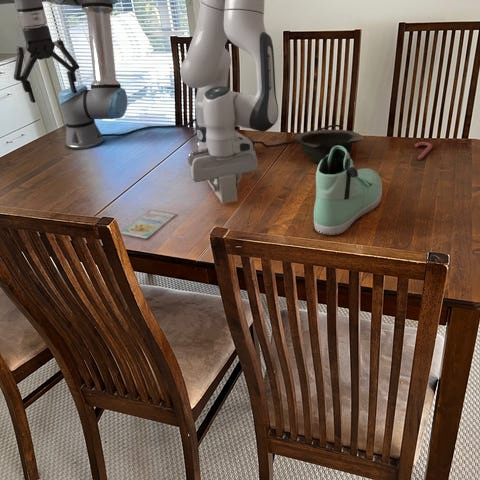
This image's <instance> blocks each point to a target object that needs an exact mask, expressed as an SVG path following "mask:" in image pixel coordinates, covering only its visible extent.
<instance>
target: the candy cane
mask: <svg viewBox="0 0 480 480" xmlns="http://www.w3.org/2000/svg"><path fill="white" fill-rule="evenodd" d="M433 146H434V145H433V144H432V143H430V142H428V141H420V142H419V141H418V142H416V143H415V144H414V148H415V149H418V148H419V147H426V148H425V149H424V150H423V151H422V152H421V153H420V154H419V155H418V156H417V159H418V161H420V160H423V158H424V157H425V156H426V155H428V153H429V152H430V151H431V150H432V149H433Z"/></svg>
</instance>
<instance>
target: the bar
mask: <svg viewBox="0 0 480 480" xmlns="http://www.w3.org/2000/svg"><path fill="white" fill-rule="evenodd" d="M214 180H215V182H213V183H214V184H218V186H219V191H217V192H214V193H215V195H216V196H217V198H218V200H219V201H220V203H221V205H224V204H230V203H233V202H238V192H237V191H238V190H237V188H236V175H234V174H230V175H225V176H220V177H219V178H217V179H214ZM206 182H208V184H209V185H210V188H212V190H213V186H212V184H211V183H210V182H209V180H206Z"/></svg>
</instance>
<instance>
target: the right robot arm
mask: <svg viewBox="0 0 480 480" xmlns="http://www.w3.org/2000/svg"><path fill="white" fill-rule="evenodd" d="M264 16H265V0H200V4H199V10H198V15H197V19H196V26H195V30H194V32H193V36H192V39H191V41H190V44H189V47H188V50H187V53H186V56H185V58H184V60H183V61H182V63H181V64H180V69H179V73H180V78H181V80H182V82H183V83H184V84H185V85H186V86H187V87H188V88H191V89H197V91H196V95H195V98H194V110H195V119H197V121H196V123H195V128H196V129H195V131H196V137H197V141H198V142H197V145H198V147H197V148H198V149H197V150H196V149H195V150H192V151H191V152H190V153H189V154H188V155H187V160H188V161H187V162H188V165H189V166H190V167H189V170H190V178H191V179H192V181H193V182H194V183H201V182H207V180H209V182H210V183H211V184H212V186H213V189H212V190H213V192H214V193H215V192H217V191H219V186H218V184H214V183H213V182H215V180H214V179H217V178H219V177H220V176H225V175H230V174H234V175H235V176H236V189H237V188H239V187H240V186H239V185H240V184H239V183H240V180H241V179H242V174H248V173H252V172H256V171H257V169H258V167H259V164H258V163H259V162H258V157H257V153H256V150H255V148H256V147H255V146H256V145H255V144H261V145H262V146H263V147H265V148H275V147H279V146H283V145H288V144H293V143H294V144H295V143H297V142H296V141H294V140H290V141H285V142H280V143H277V144H265V142H264V141H261V140H260V141H259V140H256V141H255V140H254V139H252V138H251V137H246V136H245V135H244V134H242V133H240V132H238V131H237V130H236V127H238V128H243V129H244V128H245V129H250V130H254V131H257V132H262V133H264V132H267V131H269V130H270V129H271V128H273V127H274V125H275V124H276V123H277V122H278V119H279V106H278V100H277V99H278V98H277V92H276V91H277V90H276V89H277V88H276V73H275V72H276V71H275V70H276V69H275V54H274V53H275V52H274V44H273V40H272V37H271V36H270V34H268V32H267V31H266V27H265V21H264ZM228 40H229V42H231V43H232V44H233V46H236V47H237V48H239V49H241V50H243V51H245V52H246V53H248V54H249V55H250V56H251V57H252V58H253V61H254V64H255V74H256V75H255V76H256V91H257V92H256V93H244V92H236V91H232V90H231V88H229V87H228V81H229V72H230V68H231V65H232V57H231V54H230V52H229V51H228V49H227V48H225V47H226V44H227V42H228ZM334 127H337V128H340V129H344V127H343V126H342V125H340V124H331V125H327V126H324V127H323V126H322V127H319V128H317V129H316V130H317V131H318V130H327V129H329V128H334ZM209 182H208V183H209Z"/></svg>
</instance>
